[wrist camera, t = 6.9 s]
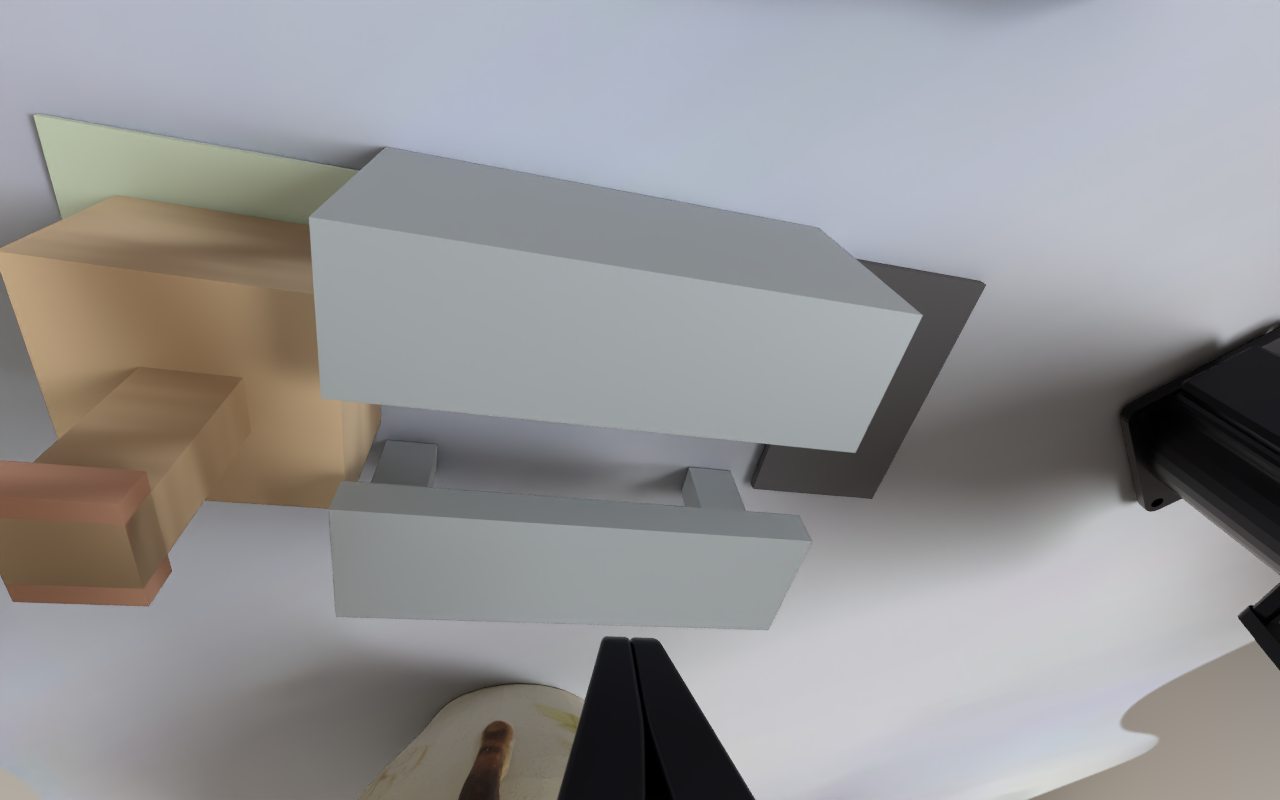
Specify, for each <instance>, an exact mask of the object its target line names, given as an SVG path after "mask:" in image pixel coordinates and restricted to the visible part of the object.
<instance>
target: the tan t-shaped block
mask: <svg viewBox="0 0 1280 800" xmlns="http://www.w3.org/2000/svg"><path fill="white" fill-rule="evenodd" d="M0 272H1V275H2V278H3V280H4V283H5V286H6V289H7V292H8V295H9V298H10V301H11V304H12V307H13V310H14V313H15V315H16V318H17V321H18V324H19V327H20V330H21V333H22V336H23V339H24V342H25V345H26V347H27V350H28V353H29V356H30V359H31V362H32V365H33V368H34V371H35V374H36V377H37V380H38V382H39V385H40V388H41V391H42V394H43V397H44V400H45V403H46V406H47V409H48V412H49V415H50V417H51V420H52V423H53V426H54V429H55V432H56V435H57V438H58V440H57V441H56V442H55V443H54V444H53V445H52V446H51V447H50V448H49V449H47V450H46V451H45V452H44V453H43V454H42V455H41V456H40V457H39V458H37V459H36V460H35V461H34V462H33V463H28V462H14V461H1V462H0V575H1V577H2V579H3V582H4V584H5V586H6V588H7V590H8V592H9V594H10V597H11V599H12V601H13V602H32V603H63V604H94V605H125V606H149V605H150V604H151V602H152V601H153V599H154V598H155V596H156V595H157V593H158V592H159V590H160V588H161V587H162V585H163V584H164V582H165V581H166V579H167V578H168V576H169V575H170V573H171V572H172V569H171V565H170V562H169V558H168V553H169V551H170V550H171V548H172V547H173V545H174V544H175V542H176V541H177V539H178V538H179V537H180V535H181V534H182V532H183V531H184V529H185V528H186V526H187V525H188V523H189V522H190V520H191V519H192V518H193V516H194V515H195V513H196V512H197V510H198V509H199V507H200V506H201V504H202V503H203V502H204V500H206V501H221V502H236V503H251V504H266V505H281V506H296V507H312V508H327V509H329V507H330V505H331V503H332V500H333V498H334V496H335V494H336V491H337V489H338V487H339V484H340V482H341V481H351V482H357V481H358V479H359V476H360V474H361V471H362V469H363V466H364V464H365V461H366V458H367V456H368V453H369V451H370V448H371V446H372V443H373V441H374V438H375V436H376V433H377V431H378V428H379V426H380V423H381V405H379V404H369V403H359V402H350V401H340V400H330V399H321V390H320V375H319V360H318V345H317V330H316V316H315V301H314V286H313V271H312V257H311V242H310V227H309V225H305V224H298V223H292V222H285V221H279V220H273V219H266V218H260V217H254V216H247V215H241V214H235V213H228V212H222V211H216V210H209V209H203V208H197V207H190V206H184V205H178V204H171V203H165V202H158V201H152V200H146V199H139V198H133V197H127V196H120V195H116V196H113V197H111V198H109V199H107V200H105V201H102V202H100V203H98V204H96V205H94V206H91V207H89V208H87V209H85V210H83V211H80V212H78V213H76V214H74V215H72V216H69V217H67V218H65V219H63V220H60V221H58V222H56V223H54V224H52V225H49V226H47V227H45V228H43V229H41V230H38V231H36V232H34V233H32V234H30V235H27V236H25V237H23V238H21V239H19V240H16V241H14V242H12V243H10V244H8V245H5V246H3V247H1V248H0Z"/></svg>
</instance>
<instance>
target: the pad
mask: <svg viewBox="0 0 1280 800" xmlns="http://www.w3.org/2000/svg"><path fill="white" fill-rule="evenodd" d="M33 116H34V119H35V123H36V127H37V130H38V134H39V138H40V141H41V145H42V148H43V152H44V156H45V159H46V163H47V167H48V170H49V174H50V177H51V181H52V185H53V188H54V192H55V195H56V199H57V203H58V206H59V210H60V214H61V217H62V220H63V219H65V218H67V217H69V216H72V215H74V214H76V213H78V212H80V211H83V210H85V209H87V208H89V207H91V206H94V205H96V204H98V203H100V202H102V201H105V200H107V199H109V198H111V197H113V196H116V195H120V196H127V197H133V198H139V199H146V200H152V201H158V202H165V203H171V204H178V205H184V206H190V207H197V208H203V209H209V210H216V211H222V212H228V213H235V214H241V215H247V216H254V217H260V218H266V219H273V220H279V221H285V222H292V223H298V224H305V225H309V216H310V215H312V214H313V213H314V212H315V211H316V210H317V209H318V208H319V207H320V206H321V205H323V204H324V203H325V202H326V201H327V200H328V199H329V198H330V197H331V196H332V195H334V194H335V193H336V192H337V191H338V190H339V189H340V188H341V187H342V186H343V185H345V184H346V183H347V182H348V181H349V180H350V179H351V178H352V177H353V176H354V175H356V174H357V173H358V172H359V170H354V169H348V168H342V167H337V166H331V165H326V164H320V163H314V162H309V161H303V160H297V159H292V158H286V157H281V156H275V155H269V154H264V153H258V152H253V151H247V150H241V149H236V148H230V147H224V146H219V145H213V144H208V143H202V142H196V141H191V140H185V139H180V138H174V137H168V136H163V135H157V134H151V133H146V132H140V131H135V130H129V129H123V128H118V127H112V126H107V125H101V124H95V123H90V122H84V121H78V120H73V119H67V118H62V117H56V116H50V115H45V114H35V115H33Z"/></svg>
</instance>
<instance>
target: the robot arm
mask: <svg viewBox="0 0 1280 800" xmlns="http://www.w3.org/2000/svg"><path fill="white" fill-rule="evenodd" d="M1120 420H1121V424H1122V429H1123V434H1124V439H1125V443H1126V448H1127V453H1128V458H1129V462H1130V467H1131V472H1132V477H1133V482H1134V486H1135V491H1136V496H1137V501H1138V503H1139V504H1140V505H1141V506H1142V507H1143V508H1144V509H1146V510H1147V511H1156V510H1159V509H1161V508H1163V507H1165V506H1167V505H1169V504H1171V503H1173V502H1176V501H1178V500H1180V499H1184V500H1185V501H1186V502H1188V503H1189V504H1190V505H1191V506H1193V507H1194V508H1195V509H1196V510H1198V511H1199V512H1200V513H1202V514H1203V515H1204V516H1205V517H1207V518H1208V519H1209V520H1210V521H1212V522H1213V523H1214V524H1216V525H1217V526H1218V527H1219V528H1221V529H1222V530H1223V531H1224V532H1226V533H1227V534H1228V535H1230V536H1231V537H1232V538H1233V539H1235V540H1236V541H1237V542H1238V543H1240V544H1241V545H1242V546H1244V547H1245V548H1246V549H1247V550H1249V551H1250V552H1251V553H1252V554H1254V555H1255V556H1256V557H1258V558H1259V559H1260V560H1261V561H1263V562H1264V563H1265V564H1266V565H1268V566H1269V567H1270V568H1272V569H1273V570H1274V571H1275V572H1277V573H1278V574H1279V575H1280V327H1279V328H1277V329H1275V330H1273V331H1271V332H1269V333H1267V334H1265V335H1263V336H1261V337H1259V338H1257V339H1255V340H1253V341H1251V342H1249V343H1247V344H1245V345H1244V346H1242V347H1240V348H1238V349H1236V350H1234V351H1232V352H1230V353H1228V354H1226V355H1224V356H1222V357H1220V358H1218V359H1216V360H1214V361H1212V362H1210V363H1208V364H1206V365H1204V366H1202V367H1201V368H1199V369H1197V370H1195V371H1193V372H1191V373H1189V374H1187V375H1185V376H1183V377H1181V378H1179V379H1177V380H1175V381H1173V382H1171V383H1169V384H1167V385H1165V386H1163V387H1161V388H1159V389H1157V390H1156V391H1154V392H1152V393H1150V394H1148V395H1146V396H1144V397H1142V398H1140V399H1138V400H1136V401H1134V402H1132V403H1130V404H1129V405H1127V406H1126V407H1125V408H1124V409H1123V411H1122V412H1121V414H1120ZM1238 618H1239V620H1240V621H1241V622H1242V623H1243V625H1244V626H1245V627H1246V628H1247V630H1248V631H1249V632H1250V633H1251V635H1252V636H1253V637H1254V638H1255V640H1256V642H1257V643H1258V644H1259V645H1260V647H1261V648H1262V649H1263V650H1264V651H1265V653H1266V654H1267V655H1268V657H1269V658H1270V659H1271V660H1272V661H1273V663H1274V664H1275V665H1276V666H1277V668H1278V669H1279V670H1280V583H1279V584H1278V585H1277V586H1275V587H1274V588H1273V589H1272V590H1271V591H1270V592H1269V593H1268V594H1267V595H1265V596H1264V597H1263V598H1262V599H1261V600H1260V601H1259V602H1258V603H1257V604H1255V605H1254V606H1253V605H1250V606H1248V607H1247V608H1246V609H1245V610H1244V611H1243V612H1241V613H1240V614H1239V615H1238ZM557 800H755V798H754V797H753V795H752V793H751V792H750V790H749V788H748V787H747V785H746V783H745V782H744V780H743V778H742V777H741V775H740V773H739V772H738V770H737V769H736V767H735V765H734V764H733V762H732V760H731V759H730V757H729V755H728V754H727V752H726V750H725V749H724V747H723V745H722V744H721V742H720V740H719V739H718V737H717V735H716V734H715V732H714V730H713V729H712V727H711V726H710V724H709V722H708V721H707V719H706V717H705V716H704V714H703V712H702V711H701V709H700V707H699V706H698V704H697V702H696V701H695V699H694V697H693V696H692V694H691V692H690V691H689V689H688V688H687V686H686V684H685V683H684V681H683V679H682V678H681V676H680V674H679V673H678V671H677V669H676V668H675V666H674V664H673V663H672V661H671V659H670V658H669V656H668V654H667V653H666V651H665V650H664V648H663V646H662V645H661V643H660V642H659V641H658V640H657V639H654V638H636V637H635V638H632V639H631V640H629V639H628V638H626V637H610V636H606V637H604V638H603V639H602V641H601V645H600V648H599V652H598V655H597V659H596V663H595V666H594V670H593V673H592V677H591V680H590V684H589V687H588V691H587V694H586V698H585V702H584V705H583V709H582V712H581V716H580V719H579V723H578V726H577V730H576V733H575V737H574V741H573V744H572V748H571V751H570V755H569V758H568V762H567V765H566V769H565V773H564V776H563V780H562V783H561V787H560V790H559V794H558V797H557Z"/></svg>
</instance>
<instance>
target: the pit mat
mask: <svg viewBox="0 0 1280 800" xmlns="http://www.w3.org/2000/svg"><path fill="white" fill-rule="evenodd" d="M857 260H858V261H859V262H860V263H861V264H862V265H864V266H865V267H866V268H867V269H868V270H870V271H871V272H872V273H873V274H874V275H876V276H877V277H878V278H879V279H880V280H882V281H883V282H884V283H885V284H886V285H887V286H889V287H890V288H891V289H892V290H893V291H895V292H896V293H897V294H898V295H899V296H901V297H902V298H903V299H904V300H905V301H906V302H908V303H909V304H910V305H911V306H912V307H914V308H915V309H916V310H917V311H918V312H920V313H921V314H922V315H923V316H922V318H921V320H920V322H919V324H918V326H917V328H916V330H915V332H914V334H913V336H912V338H911V340H910V343H909V345H908V347H907V349H906V351H905V353H904V355H903V357H902V359H901V361H900V363H899V365H898V367H897V369H896V371H895V373H894V375H893V377H892V379H891V381H890V383H889V385H888V387H887V389H886V391H885V394H884V396H883V398H882V400H881V402H880V404H879V406H878V408H877V410H876V412H875V414H874V416H873V418H872V420H871V422H870V424H869V426H868V428H867V430H866V432H865V434H864V436H863V438H862V440H861V442H860V445H859V447H858V449H857V451H856V453H851V452H842V451H832V450H822V449H812V448H802V447H792V446H782V445H773V444H766V446H765V449H764V451H763V454H762V456H761V459H760V461H759V464H758V467H757V469H756V472H755V474H754V477H753V479H752V482H751V485H752V487H753V489H762V490H774V491H786V492H798V493H810V494H822V495H834V496H846V497H857V498H869V499H872V498H873V496H874V494H875V492H876V490H877V488H878V487H879V485H880V483H881V481H882V479H883V477H884V475H885V473H886V472H887V470H888V468H889V466H890V464H891V462H892V460H893V458H894V457H895V455H896V453H897V451H898V449H899V447H900V445H901V443H902V442H903V440H904V438H905V436H906V434H907V432H908V430H909V428H910V427H911V425H912V423H913V421H914V419H915V417H916V415H917V413H918V412H919V410H920V408H921V406H922V404H923V402H924V400H925V398H926V397H927V395H928V393H929V391H930V389H931V387H932V385H933V383H934V382H935V380H936V378H937V376H938V374H939V372H940V370H941V368H942V367H943V365H944V363H945V361H946V359H947V357H948V355H949V353H950V352H951V350H952V348H953V346H954V344H955V342H956V340H957V338H958V337H959V335H960V333H961V331H962V329H963V327H964V325H965V323H966V322H967V320H968V318H969V316H970V314H971V312H972V310H973V308H974V307H975V305H976V303H977V301H978V299H979V297H980V295H981V293H982V292H983V290H984V288H985V286H986V284H984V283H983V282H981V281H977V280H971V279H966V278H960V277H955V276H949V275H943V274H938V273H932V272H926V271H921V270H915V269H910V268H904V267H898V266H893V265H887V264H882V263H876V262H870V261H865V260H859V259H857Z"/></svg>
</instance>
